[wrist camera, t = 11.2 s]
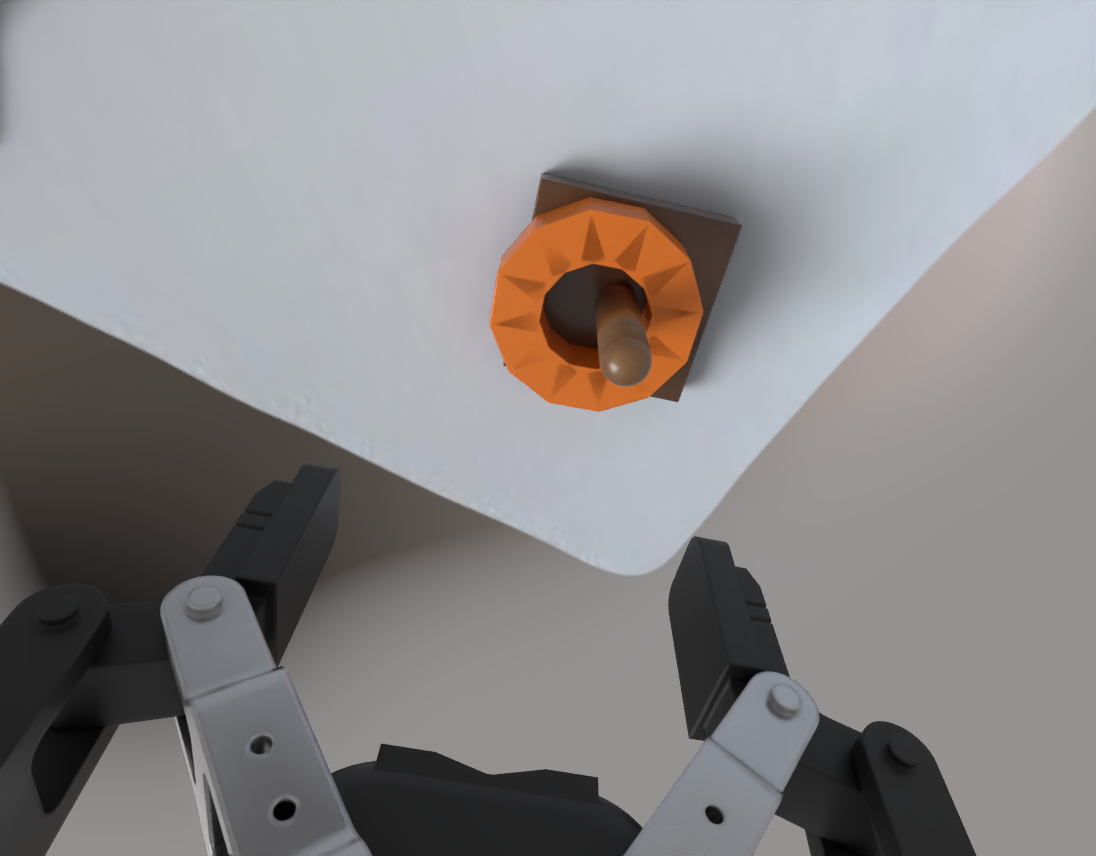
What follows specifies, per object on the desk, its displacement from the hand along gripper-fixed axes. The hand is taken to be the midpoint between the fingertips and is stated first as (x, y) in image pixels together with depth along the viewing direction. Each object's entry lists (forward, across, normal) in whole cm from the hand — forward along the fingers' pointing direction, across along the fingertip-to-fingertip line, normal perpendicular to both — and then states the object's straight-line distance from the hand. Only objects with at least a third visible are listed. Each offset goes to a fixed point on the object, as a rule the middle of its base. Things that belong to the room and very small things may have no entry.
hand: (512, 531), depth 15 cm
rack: (+23, -4, +2) cm, 23 cm away
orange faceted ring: (+21, -3, +2) cm, 22 cm away
